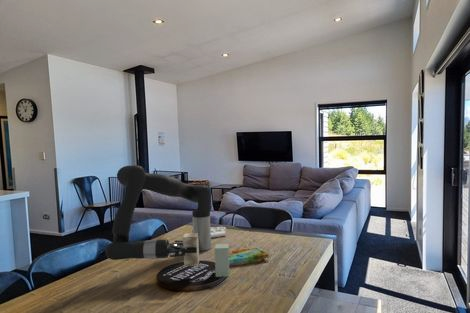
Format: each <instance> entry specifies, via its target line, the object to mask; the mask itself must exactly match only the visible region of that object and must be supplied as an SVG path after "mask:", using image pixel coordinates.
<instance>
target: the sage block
mask: <svg viewBox="0 0 470 313" xmlns="http://www.w3.org/2000/svg"><path fill="white" fill-rule="evenodd" d="M229 251H230V250H229V243H218V244H217V243H216V244H214V265H215V268H214V269H215V278H216V277H217V278H222V276H223V277H225V278H226V277H230V266H229Z"/></svg>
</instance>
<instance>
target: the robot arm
mask: <svg viewBox="0 0 470 313" xmlns="http://www.w3.org/2000/svg"><path fill="white" fill-rule="evenodd" d="M116 178H117V180H118V182H119V183H120V184H121V185H122V186H125V187H126V192H125V195H124V198H123V199H122V202H121V203H120V205H119V207H118V209H117V210H116V213H115V215H114V220H113V225H112V229H111V233H112V235H113V239H112V242H110V243H109V244H107V246H106V247H105V251H104V254H105V256H106V257H107V258H108V259H109V260H113V261H117V260H127V259H128V260H129V259H136V260H137V259H138V260H139V259H149V260H151V259H167V258H177V257H184V256H185V254H187V253H196V252H197V248H196V247H183V240H180V239H179V240H177V239H176V240H174V242H172V243H170V241H169V239H164V238H163V239H162V238H161V239H149V240H136V241H130V230H131V226H132V222H133V216H134V212H135V209H136V206H137V203H138V201H139V198H140V194H141V192H142V189H144V190H147V191H150V192H153V193H155V194H160V195H163V196H167V197H171V198H172V197H173V198H183V199H185V200H188V201H190V202H193V203H197V208H196V209H193V210H192V214H191V215H192V217H191V218H192V230H191V233H198V244H199V252H200V251H201V252H202V251H207V250H210V249H212V238H211V210H212V191H211V189H210V186H207V185H201V184H200V185H199V184H189V183H184V182H183V181H181V180H180V179H178V178H176V177H173V176H170V175H166V174H159V173H149V172H146V170H145V169H144V168H143V167H142V166H141V165H138V164H137V165H135V164H133V165H124V166H123V167H121V168H120V169H118V171H117V173H116Z"/></svg>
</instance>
